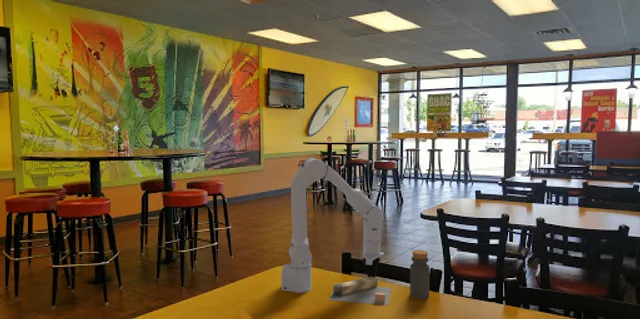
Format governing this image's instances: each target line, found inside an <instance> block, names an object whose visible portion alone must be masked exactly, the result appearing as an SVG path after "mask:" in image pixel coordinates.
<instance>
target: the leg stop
mask: <svg viewBox="0 0 640 319" xmlns="http://www.w3.org/2000/svg"><path fill="white" fill-rule="evenodd" d="M375 302H381V303H385V293H378V292H375Z"/></svg>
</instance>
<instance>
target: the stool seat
mask: <svg viewBox="0 0 640 319" xmlns="http://www.w3.org/2000/svg"><path fill="white" fill-rule="evenodd" d="M375 292H378V293H385V303H381V302H375ZM391 292H392V287H384V286H375V287H371V288H367V289H363V290H359V291H355V292H351V293H347V294H343V295H334V294H333V292H331V294H330V296H329V298H328V301H337V302H338V301H339V302H348V303H356V304H357V303H359V304H368V305H369V304H370V305H381V306H388V305H389V301H390V297H391V294H392V293H391Z"/></svg>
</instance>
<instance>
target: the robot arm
mask: <svg viewBox="0 0 640 319" xmlns="http://www.w3.org/2000/svg"><path fill="white" fill-rule="evenodd" d="M321 179H322V180H324V181H329V182H330V183H331V184H332V185H334V186H335V187H336V188H337V189H338V190H340V192H342V193H343V195H345V197H346V198H345V200H346V202H347V203H348V204H349V205H350V206H351V208H353V209H354V210H355V211H357V213H358V214H360V216H361V217H362V218H363V228H362V232H363V233H362V235H363V237H362V238H363V240H362V242H363V244H362V245H363V246H362V247H363V248H362V250H363V251H362V256H363V257H364V258H362V263H363V265H364V267H365V270H366V271H365V272H366V275H367V276H366V277H371V276H372V277H374V278H376V276H377V271H378V270H377V269H378V266H379V264H380V262H381V257H384V256H385V253H384V252H381V223H382V222H381V221H382V220H383V218H384V214H383V210H382V209H381V208H380V207H379V206H378V205H375V201H374V200H373V199H370V198H369V196H368V197H367V195H366V194H365V193H366V192H365V191H364V190H363V189H360V188H352V186H350V185H349V184H348V182H347V181H345V179H344V178H343V177H342V176H341V175H340V174H339V173H338V172H337V171H336V170H335V169H334V168H332V167H331V166H330V165H328V164H326V163H325V162H324V161H323V160H321V159H317V158H315V157H308V158H306V159H305V160H304V161H302V162H301V163H300V164H299V167H298V168H297V171H296V172H295V174H294V176H293V178H292V179H291V181H290V182H291V183H290V191H291V192H290V194H291V198H290V199H291V231H292V236H291V238H290V240H291V242H290V245H289V247H288V254H289V257H290V258H291V260H290V262H289V263H287V264H286V263H285V264H284V265H283V266H282V269H281V274H280V275H281V291H286V292H293V293H297V294H298V293H299V294H300V293H302V294H303V293H307V292H310V291H311V290H312V262H313V254H312V253H311V250H310V244H309V239H308V217H307V216H308V214H307V213H308V211H307V189H308V188H309V187H310V186H311V185H312V184H313V183H315V182H317V181H319V180H321Z"/></svg>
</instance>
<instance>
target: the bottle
mask: <svg viewBox="0 0 640 319" xmlns="http://www.w3.org/2000/svg"><path fill="white" fill-rule="evenodd" d="M428 254H429V252H428V251H427V250H423V249H415V250H412V255H411V261H412V263H411V264H410V271H409V272H410V273H409V275H410V276H409V280H410V281H409V282H410V283H409V286H410V287H409V293H410V294H409V295H410V296H411V298H414V299H419V300H423V299H428V298H429V297H430V272H431V271H430V265H429V264H428V262H429V257H428Z"/></svg>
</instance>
